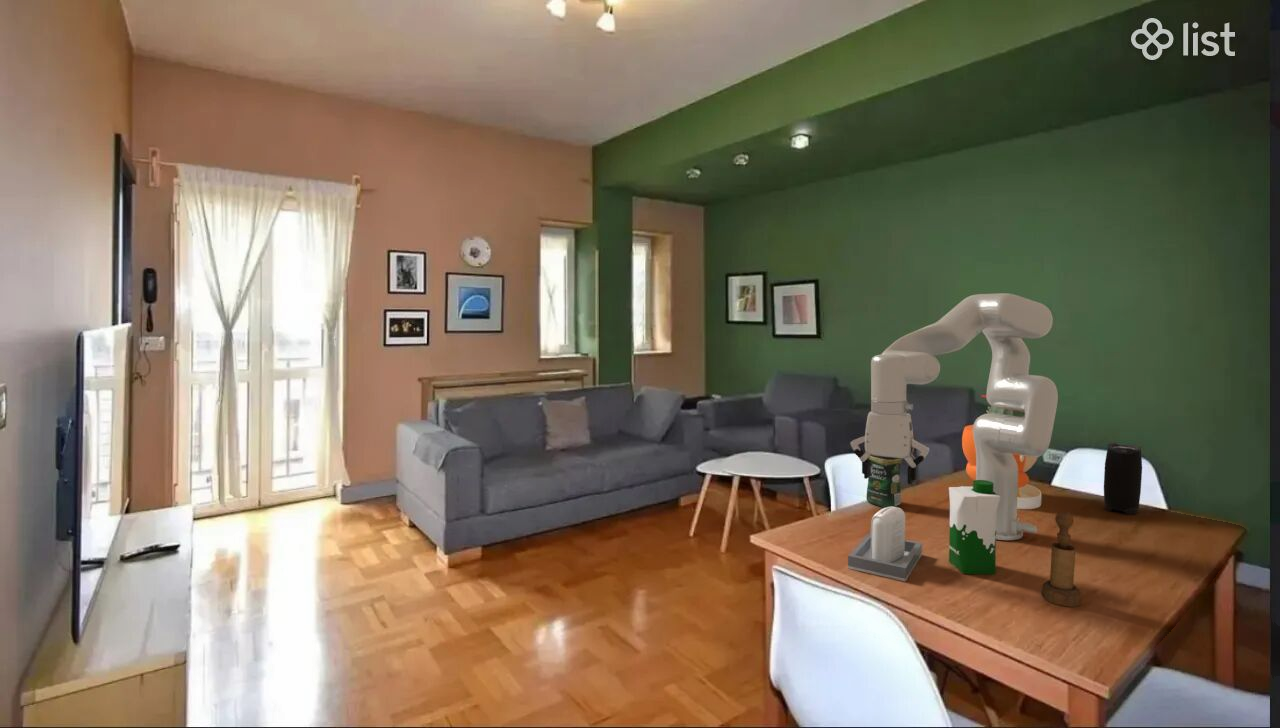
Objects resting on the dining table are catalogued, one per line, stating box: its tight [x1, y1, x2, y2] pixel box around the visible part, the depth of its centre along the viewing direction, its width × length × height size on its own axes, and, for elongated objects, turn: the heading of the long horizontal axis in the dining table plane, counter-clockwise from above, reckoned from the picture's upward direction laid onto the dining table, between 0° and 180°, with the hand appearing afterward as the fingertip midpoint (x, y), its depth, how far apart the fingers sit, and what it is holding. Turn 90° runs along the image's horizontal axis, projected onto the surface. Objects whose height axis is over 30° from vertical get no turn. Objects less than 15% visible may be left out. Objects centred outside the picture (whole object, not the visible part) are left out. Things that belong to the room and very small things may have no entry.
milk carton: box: [948, 480, 1000, 575], centre depth 138 cm, size 9×9×20 cm
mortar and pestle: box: [1041, 511, 1082, 608], centre depth 122 cm, size 7×6×18 cm
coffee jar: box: [866, 455, 903, 508], centre depth 184 cm, size 10×8×19 cm
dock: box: [847, 532, 923, 582], centre depth 143 cm, size 12×17×3 cm
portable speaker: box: [1103, 442, 1143, 515], centre depth 174 cm, size 8×9×19 cm
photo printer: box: [870, 506, 906, 563], centre depth 142 cm, size 10×4×12 cm, turn 129°
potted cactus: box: [961, 394, 1043, 510], centre depth 187 cm, size 22×22×35 cm
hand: (888, 480), depth 141 cm, fingers open, 9 cm apart
